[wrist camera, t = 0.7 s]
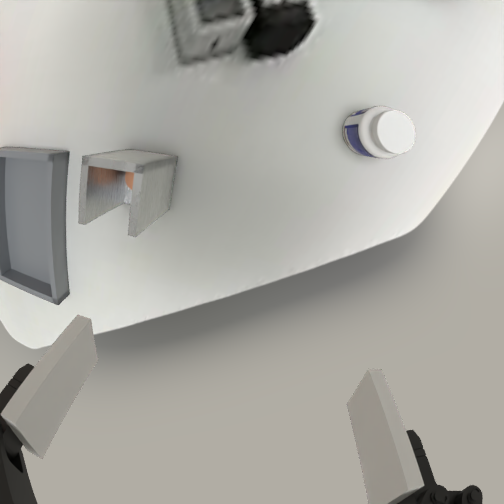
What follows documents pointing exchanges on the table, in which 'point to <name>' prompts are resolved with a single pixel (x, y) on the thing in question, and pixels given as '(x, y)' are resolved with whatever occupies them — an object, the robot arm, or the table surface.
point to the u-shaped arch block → (116, 190)
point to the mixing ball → (129, 179)
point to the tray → (34, 221)
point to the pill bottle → (379, 132)
